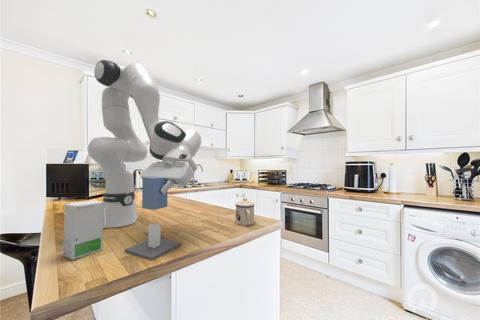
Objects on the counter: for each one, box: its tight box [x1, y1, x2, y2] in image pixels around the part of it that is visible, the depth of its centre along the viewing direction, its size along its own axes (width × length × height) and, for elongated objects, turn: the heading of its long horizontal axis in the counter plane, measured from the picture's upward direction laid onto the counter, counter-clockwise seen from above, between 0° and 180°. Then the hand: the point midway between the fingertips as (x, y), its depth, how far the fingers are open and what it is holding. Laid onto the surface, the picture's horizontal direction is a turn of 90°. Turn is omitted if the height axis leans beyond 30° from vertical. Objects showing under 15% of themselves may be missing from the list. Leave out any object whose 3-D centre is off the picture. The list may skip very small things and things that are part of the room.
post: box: [124, 222, 182, 261], centre depth 65 cm, size 12×12×8 cm
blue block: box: [141, 177, 169, 211], centre depth 66 cm, size 5×5×10 cm
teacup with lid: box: [235, 197, 255, 226], centre depth 93 cm, size 12×9×12 cm
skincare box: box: [62, 200, 104, 261], centre depth 62 cm, size 8×7×16 cm
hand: (153, 191), depth 65 cm, fingers closed on blue block, 5 cm apart
